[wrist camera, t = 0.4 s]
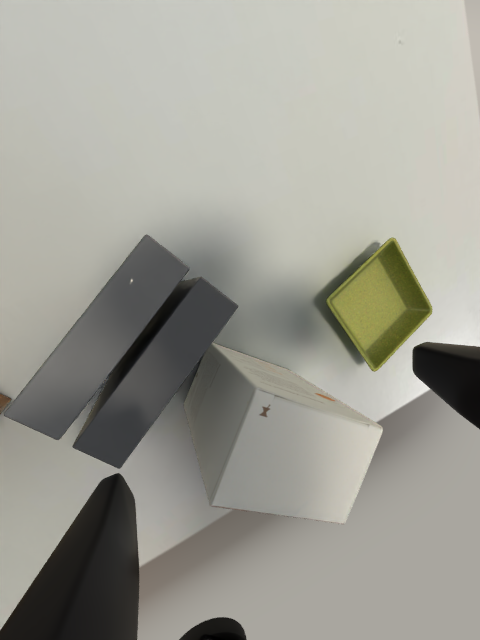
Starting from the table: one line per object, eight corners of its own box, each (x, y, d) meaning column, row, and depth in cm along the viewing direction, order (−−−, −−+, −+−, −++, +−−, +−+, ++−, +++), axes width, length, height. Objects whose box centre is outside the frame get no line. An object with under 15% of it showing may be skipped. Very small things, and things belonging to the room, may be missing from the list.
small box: (181, 404, 21) (203, 509, 11) (208, 338, 21) (254, 385, 11) (267, 427, 24) (346, 530, 14) (290, 369, 24) (388, 429, 14)
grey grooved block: (137, 382, 20) (119, 469, 10) (81, 349, 18) (1, 416, 9) (201, 297, 21) (239, 306, 11) (151, 259, 19) (146, 232, 10)
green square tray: (375, 238, 25) (394, 234, 23) (415, 309, 27) (435, 310, 25) (310, 299, 23) (324, 300, 21) (358, 367, 26) (374, 374, 24)
